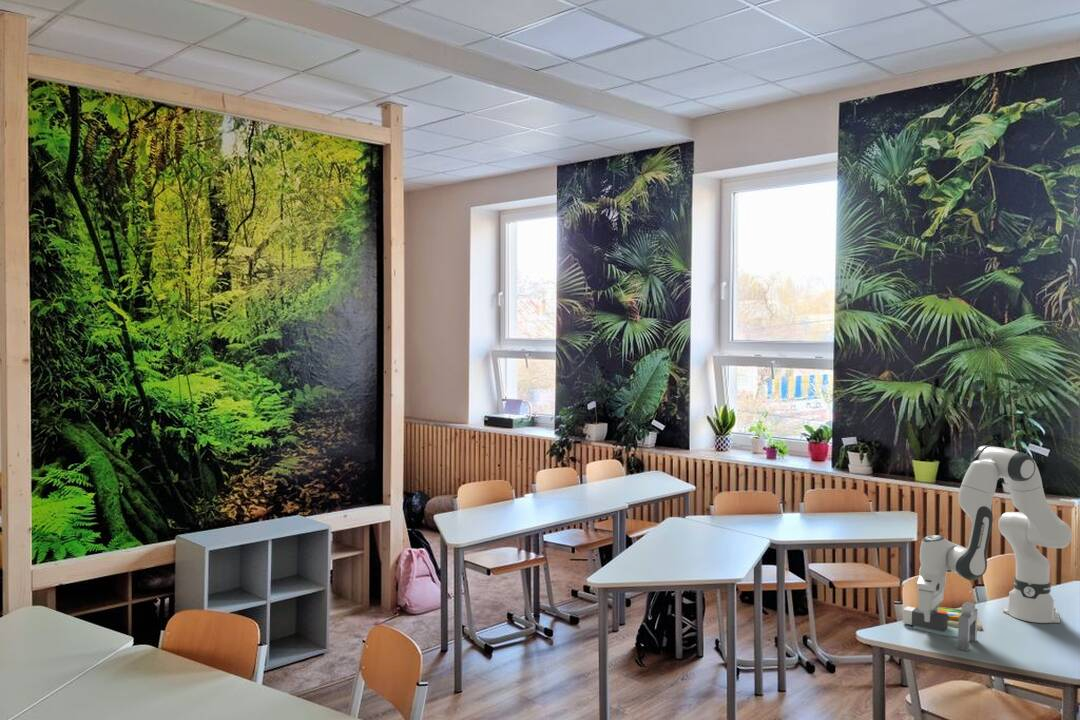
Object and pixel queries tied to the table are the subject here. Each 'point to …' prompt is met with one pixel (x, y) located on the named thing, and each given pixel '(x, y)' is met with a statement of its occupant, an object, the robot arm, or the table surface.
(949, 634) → the mat
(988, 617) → the table surface
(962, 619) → the housing
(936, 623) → the plug
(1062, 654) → the table surface
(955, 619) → the wooden puzzle
